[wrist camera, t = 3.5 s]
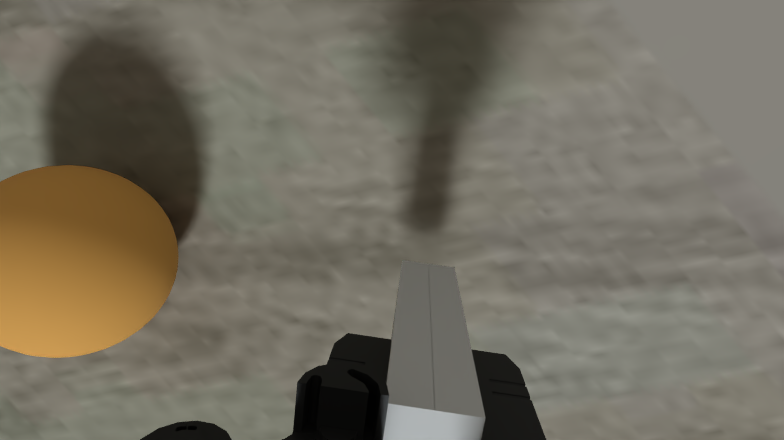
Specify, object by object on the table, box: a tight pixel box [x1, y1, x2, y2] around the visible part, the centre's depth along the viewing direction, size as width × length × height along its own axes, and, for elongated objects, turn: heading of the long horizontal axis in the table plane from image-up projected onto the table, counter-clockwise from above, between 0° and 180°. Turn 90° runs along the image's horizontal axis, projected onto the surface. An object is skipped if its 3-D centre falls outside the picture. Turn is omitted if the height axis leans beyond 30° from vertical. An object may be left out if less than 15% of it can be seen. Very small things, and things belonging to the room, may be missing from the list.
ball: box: [0, 165, 178, 358], centre depth 14 cm, size 6×6×6 cm
